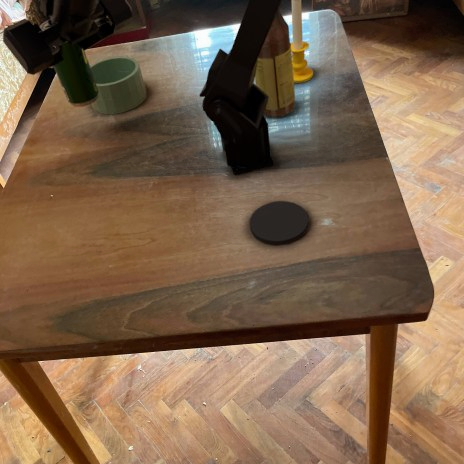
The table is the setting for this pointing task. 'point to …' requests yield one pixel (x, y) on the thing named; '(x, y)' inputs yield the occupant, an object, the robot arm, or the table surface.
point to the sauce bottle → (276, 69)
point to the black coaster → (279, 223)
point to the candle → (299, 46)
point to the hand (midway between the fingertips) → (64, 57)
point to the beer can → (75, 74)
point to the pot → (118, 85)
